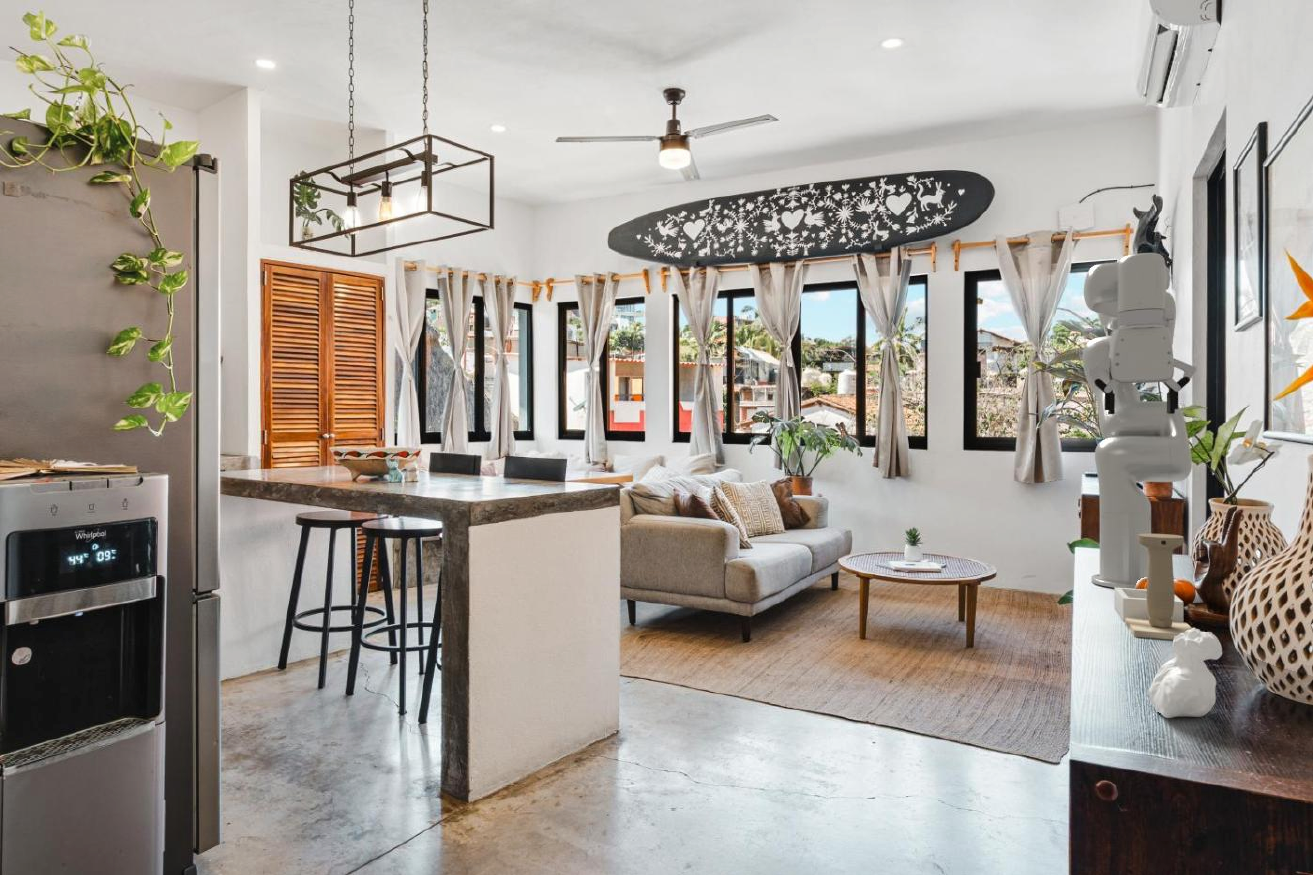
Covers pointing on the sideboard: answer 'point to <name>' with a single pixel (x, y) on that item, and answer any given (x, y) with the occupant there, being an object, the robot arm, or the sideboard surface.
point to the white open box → (1140, 604)
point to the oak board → (1155, 629)
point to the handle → (1160, 576)
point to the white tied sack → (1187, 676)
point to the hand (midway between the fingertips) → (1140, 413)
